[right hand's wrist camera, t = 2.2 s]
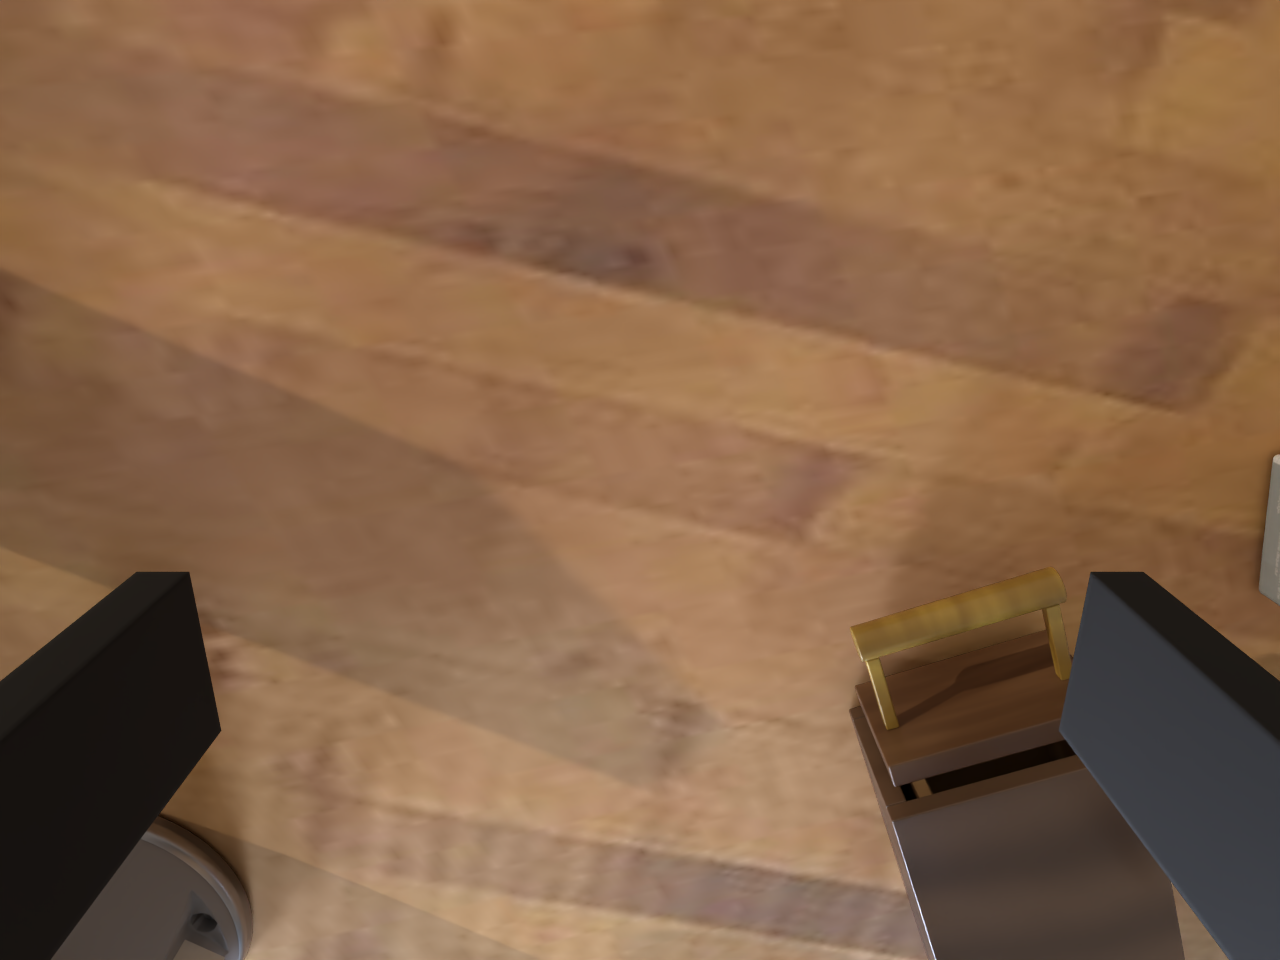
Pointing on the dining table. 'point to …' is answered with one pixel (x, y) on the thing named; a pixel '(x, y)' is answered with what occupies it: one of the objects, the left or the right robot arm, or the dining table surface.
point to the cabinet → (1025, 867)
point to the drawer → (969, 688)
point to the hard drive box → (1272, 539)
